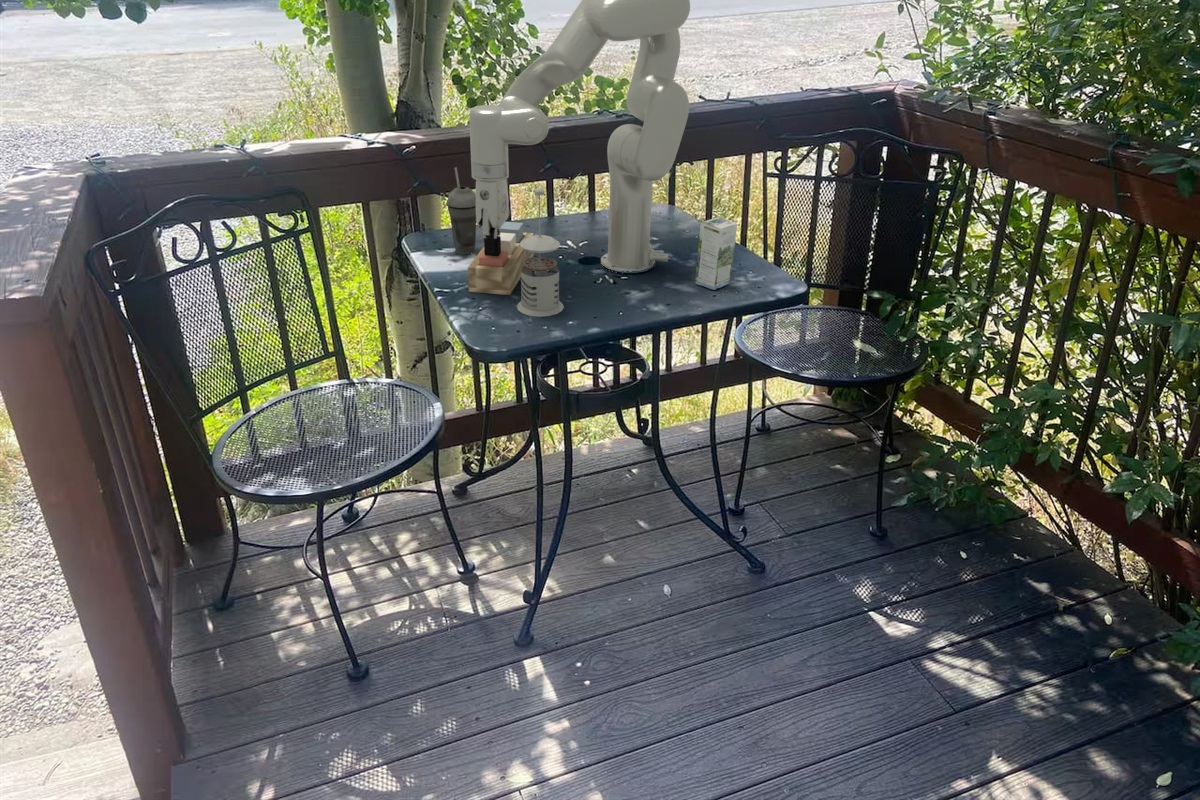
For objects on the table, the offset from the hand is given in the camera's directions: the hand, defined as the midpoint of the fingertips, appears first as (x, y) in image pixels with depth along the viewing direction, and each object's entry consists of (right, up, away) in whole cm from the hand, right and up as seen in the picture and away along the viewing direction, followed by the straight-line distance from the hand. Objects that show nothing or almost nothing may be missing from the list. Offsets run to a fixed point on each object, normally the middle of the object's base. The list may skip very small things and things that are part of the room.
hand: (492, 254), depth 190 cm
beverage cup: (-9, +4, +21) cm, 23 cm away
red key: (0, -3, +2) cm, 4 cm away
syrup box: (+48, -6, +7) cm, 49 cm away
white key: (+1, +1, +8) cm, 8 cm away
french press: (+10, -11, -5) cm, 16 cm away
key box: (+1, -2, +10) cm, 10 cm away
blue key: (+2, +5, +14) cm, 15 cm away
